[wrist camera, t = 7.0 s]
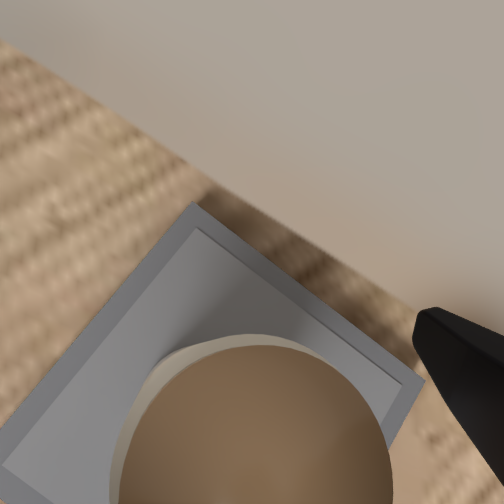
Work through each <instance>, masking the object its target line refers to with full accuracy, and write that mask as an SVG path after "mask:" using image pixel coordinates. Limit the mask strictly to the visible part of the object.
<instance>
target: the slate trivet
mask: <svg viewBox="0 0 504 504" xmlns="http://www.w3.org/2000/svg"><path fill="white" fill-rule="evenodd" d="M241 334H264V335H270V336H276V337H281V338H284V339H287V340H291V341H294V342H296V343H298V344H301V345H303V346H305V347H307V348H309V349H311V350H313V351H314V352H316V353H317V354H319V355H320V356H322V357H323V358H325V359H326V360H327V361H328V362H329V363H331V364H332V365H333V366H334V367H335V368H336V369H337V370H338V371H339V372H340V373H341V374H342V375H343V376H344V377H345V378H347V379H348V380H349V381H350V382H351V383H352V385H353V386H354V387H355V388H356V389H357V390H358V391H359V392H360V394H361V395H362V396H363V398H364V399H365V401H366V402H367V403H368V405H369V406H370V408H371V410H372V412H373V413H374V415H375V417H376V419H377V421H378V423H379V426H380V428H381V430H382V433H383V435H384V438H385V442H386V445H387V449H388V450H389V448H390V446H391V444H392V442H393V440H394V439H395V437H396V435H397V433H398V431H399V429H400V428H401V426H402V424H403V422H404V420H405V418H406V416H407V415H408V413H409V411H410V409H411V407H412V405H413V404H414V402H415V400H416V398H417V396H418V394H419V393H420V391H421V389H422V387H423V385H424V383H425V381H426V380H424V379H423V378H422V377H420V376H419V375H418V374H417V373H415V372H414V371H413V370H411V369H410V368H409V367H407V366H406V365H405V364H404V363H402V362H401V361H400V360H398V359H397V358H396V357H394V356H393V355H392V354H391V353H389V352H388V351H387V350H385V349H384V348H383V347H381V346H380V345H379V344H378V343H376V342H375V341H374V340H372V339H371V338H370V337H368V336H367V335H366V334H365V333H363V332H362V331H361V330H359V329H358V328H357V327H355V326H354V325H353V324H352V323H350V322H349V321H348V320H346V319H345V318H344V317H342V316H341V315H340V314H339V313H337V312H336V311H335V310H333V309H332V308H331V307H329V306H328V305H327V304H326V303H324V302H323V301H322V300H320V299H319V298H318V297H316V296H315V295H314V294H313V293H311V292H310V291H309V290H307V289H306V288H305V287H303V286H302V285H301V284H300V283H298V282H297V281H296V280H294V279H293V278H292V277H290V276H289V275H288V274H287V273H285V272H284V271H283V270H281V269H280V268H279V267H277V266H276V265H275V264H274V263H272V262H271V261H270V260H268V259H267V258H266V257H264V256H263V255H262V254H261V253H259V252H258V251H257V250H255V249H254V248H253V247H251V246H250V245H249V244H248V243H246V242H245V241H244V240H242V239H241V238H240V237H238V236H237V235H236V234H235V233H233V232H232V231H231V230H229V229H228V228H227V227H225V226H224V225H223V224H222V223H220V222H219V221H218V220H216V219H215V218H214V217H212V216H211V215H210V214H209V213H207V212H206V211H205V210H203V209H202V208H201V207H199V206H198V205H197V204H196V203H194V202H193V201H192V202H191V204H190V205H189V206H188V207H187V208H186V209H185V211H184V212H183V213H182V214H181V215H180V217H179V218H178V219H177V220H176V221H175V223H174V224H173V225H172V226H171V227H170V228H169V230H168V231H167V232H166V233H165V234H164V236H163V237H162V238H161V239H160V240H159V241H158V243H157V244H156V245H155V246H154V247H153V249H152V250H151V251H150V252H149V253H148V255H147V256H146V257H145V258H144V259H143V260H142V262H141V263H140V264H139V265H138V266H137V268H136V269H135V270H134V271H133V272H132V274H131V275H130V276H129V277H128V278H127V279H126V281H125V282H124V283H123V284H122V285H121V287H120V288H119V289H118V290H117V291H116V292H115V294H114V295H113V296H112V297H111V298H110V300H109V301H108V302H107V303H106V304H105V306H104V307H103V308H102V309H101V310H100V311H99V313H98V314H97V315H96V316H95V317H94V319H93V320H92V321H91V322H90V323H89V324H88V326H87V327H86V328H85V329H84V330H83V332H82V333H81V334H80V335H79V336H78V338H77V339H76V340H75V341H74V342H73V343H72V345H71V346H70V347H69V348H68V349H67V351H66V352H65V353H64V354H63V355H62V357H61V358H60V359H59V360H58V361H57V362H56V364H55V365H54V366H53V367H52V368H51V370H50V371H49V372H48V373H47V374H46V375H45V377H44V378H43V379H42V380H41V381H40V383H39V384H38V385H37V386H36V387H35V389H34V390H33V391H32V392H31V393H30V394H29V396H28V397H27V398H26V399H25V400H24V402H23V403H22V404H21V405H20V406H19V408H18V409H17V410H16V411H15V412H14V413H13V415H12V416H11V417H10V418H9V419H8V421H7V422H6V423H5V424H4V425H3V426H2V428H1V429H0V499H1V500H2V501H4V502H5V503H6V504H109V480H110V468H111V463H112V458H113V454H114V449H115V445H116V442H117V440H118V437H119V434H120V431H121V428H122V426H123V424H124V422H125V420H126V417H127V415H128V413H129V411H130V409H131V407H132V405H133V403H134V401H135V399H136V397H137V395H138V393H139V391H140V389H141V387H142V385H143V383H144V381H145V379H146V377H147V376H148V374H149V373H150V371H151V370H152V369H153V368H154V366H155V365H156V364H157V363H158V362H159V361H160V360H161V359H163V358H164V357H166V356H167V355H168V354H170V353H172V352H174V351H176V350H178V349H181V348H184V347H188V346H191V345H195V344H199V343H203V342H207V341H211V340H215V339H219V338H223V337H227V336H232V335H241Z"/></svg>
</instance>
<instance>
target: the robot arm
mask: <svg viewBox="0 0 504 504" xmlns="http://www.w3.org/2000/svg"><path fill="white" fill-rule="evenodd" d="M412 341H413V345H414V348H415V350H416V351H417V353H418V355H419V357H420V359H421V360H422V362H423V364H424V366H425V367H426V369H427V371H428V373H429V375H430V376H431V378H432V380H433V382H434V383H435V385H436V387H437V389H438V391H439V392H440V394H441V396H442V398H443V399H444V401H445V403H446V404H447V406H448V407H449V409H450V410H451V412H452V413H453V415H454V416H455V418H456V419H457V421H458V422H459V424H460V425H461V426H462V428H463V429H464V431H465V432H466V434H467V435H468V436H469V438H470V439H471V441H472V442H473V444H474V445H475V446H476V448H477V449H478V451H479V452H480V453H481V455H482V456H483V458H484V459H485V461H486V462H487V463H488V465H489V466H490V468H491V469H492V471H493V472H494V473H495V475H496V476H497V478H498V479H499V481H500V482H501V483H502V485H503V486H504V336H503V335H500V334H498V333H496V332H494V331H491V330H489V329H487V328H485V327H482V326H480V325H478V324H476V323H473V322H471V321H469V320H467V319H464V318H462V317H460V316H457V315H455V314H453V313H450V312H448V311H446V310H443V309H441V308H439V307H432V308H428V309H424V310H421V311H420V312H419V313H418V315H417V319H416V323H415V327H414V331H413V335H412Z"/></svg>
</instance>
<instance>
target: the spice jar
mask: <svg viewBox="0 0 504 504" xmlns="http://www.w3.org/2000/svg"><path fill="white" fill-rule="evenodd" d="M392 503H393V479H392V469H391V463H390V456H389V452H388V449H387V445H386V442H385V438H384V435H383V433H382V430H381V428H380V426H379V423H378V421H377V419H376V417H375V415H374V413H373V412H372V410H371V408H370V406H369V405H368V403H367V402H366V401H365V399H364V398H363V396H362V395H361V394H360V392H359V391H358V390H357V389H356V388H355V387H354V386H353V385H352V383H351V382H350V381H349V380H348V379H347V378H345V377H344V376H343V375H342V374H341V373H340V372H339V371H338V370H337V369H336V368H335V367H334V366H333V365H332V364H331V363H329V362H328V361H327V360H326V359H325V358H323V357H322V356H320V355H319V354H317V353H316V352H314V351H313V350H311V349H309V348H307V347H305V346H303V345H301V344H298V343H296V342H294V341H291V340H287V339H284V338H281V337H276V336H270V335H264V334H241V335H232V336H227V337H223V338H219V339H215V340H211V341H207V342H203V343H199V344H195V345H191V346H188V347H184V348H181V349H178V350H176V351H174V352H172V353H170V354H168V355H167V356H166V357H164V358H163V359H161V360H160V361H159V362H158V363H157V364H156V365H155V366H154V368H153V369H152V370H151V371H150V373H149V374H148V376H147V377H146V379H145V381H144V383H143V385H142V387H141V389H140V391H139V393H138V395H137V397H136V399H135V401H134V403H133V405H132V407H131V409H130V411H129V413H128V415H127V417H126V420H125V422H124V424H123V426H122V428H121V431H120V434H119V437H118V440H117V442H116V445H115V449H114V454H113V458H112V463H111V468H110V480H109V504H392Z"/></svg>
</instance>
